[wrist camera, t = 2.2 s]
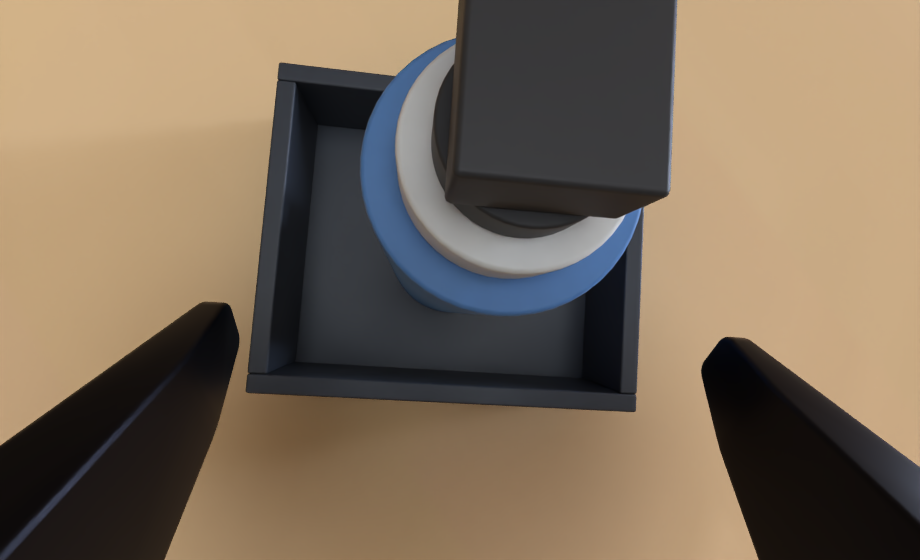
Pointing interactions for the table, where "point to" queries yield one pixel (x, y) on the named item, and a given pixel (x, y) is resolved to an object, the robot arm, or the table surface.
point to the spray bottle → (522, 151)
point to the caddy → (388, 304)
